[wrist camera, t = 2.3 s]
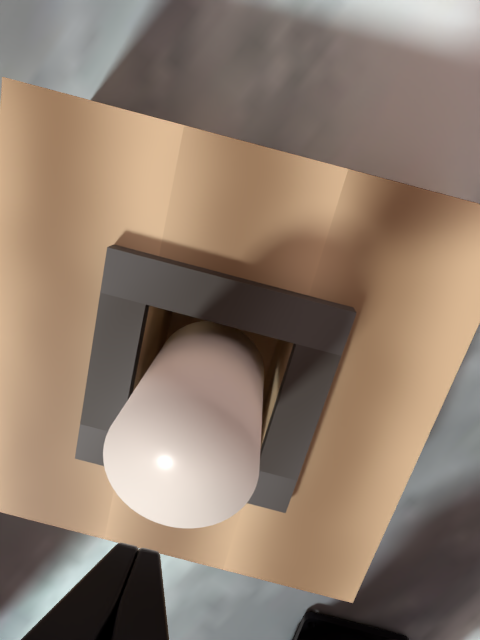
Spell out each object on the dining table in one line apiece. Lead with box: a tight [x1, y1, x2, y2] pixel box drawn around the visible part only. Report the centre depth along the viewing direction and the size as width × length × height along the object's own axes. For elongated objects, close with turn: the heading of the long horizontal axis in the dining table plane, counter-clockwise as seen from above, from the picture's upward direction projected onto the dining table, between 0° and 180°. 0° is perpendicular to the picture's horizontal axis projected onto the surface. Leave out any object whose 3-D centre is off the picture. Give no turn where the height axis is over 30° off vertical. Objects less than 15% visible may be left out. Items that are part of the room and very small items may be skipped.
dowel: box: [103, 321, 264, 528], centre depth 14 cm, size 4×4×6 cm
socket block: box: [0, 77, 480, 603], centre depth 18 cm, size 16×16×7 cm
